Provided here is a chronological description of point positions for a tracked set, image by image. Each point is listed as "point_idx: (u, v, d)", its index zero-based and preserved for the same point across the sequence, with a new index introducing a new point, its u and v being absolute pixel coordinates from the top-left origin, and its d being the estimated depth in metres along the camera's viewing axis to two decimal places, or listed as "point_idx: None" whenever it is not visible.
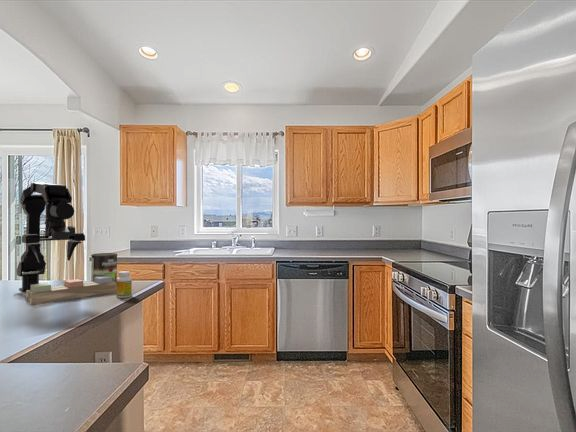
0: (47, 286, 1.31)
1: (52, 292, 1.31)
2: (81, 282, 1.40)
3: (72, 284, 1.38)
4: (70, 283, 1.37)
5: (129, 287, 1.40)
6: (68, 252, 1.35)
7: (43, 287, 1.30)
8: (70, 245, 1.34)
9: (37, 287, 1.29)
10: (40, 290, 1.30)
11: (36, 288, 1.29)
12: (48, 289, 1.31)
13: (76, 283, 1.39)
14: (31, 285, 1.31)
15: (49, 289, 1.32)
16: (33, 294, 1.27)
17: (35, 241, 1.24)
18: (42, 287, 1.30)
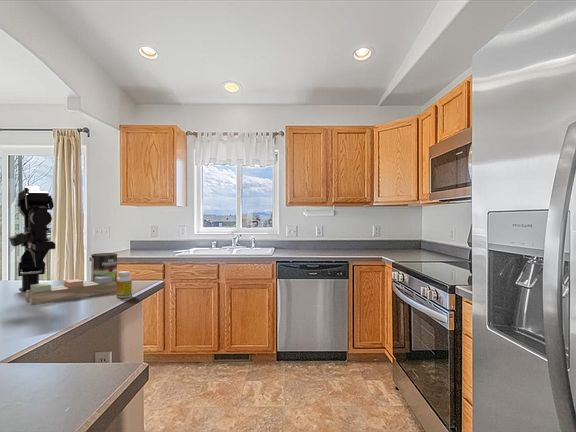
0: (47, 286, 1.31)
1: (52, 292, 1.31)
2: (81, 282, 1.40)
3: (72, 284, 1.38)
4: (70, 283, 1.37)
5: (129, 287, 1.40)
6: None
7: (43, 287, 1.30)
8: None
9: (37, 287, 1.29)
10: (40, 290, 1.30)
11: (36, 288, 1.29)
12: (48, 289, 1.31)
13: (76, 283, 1.39)
14: (31, 285, 1.31)
15: (49, 289, 1.32)
16: (33, 294, 1.27)
17: (22, 245, 1.36)
18: (42, 287, 1.30)
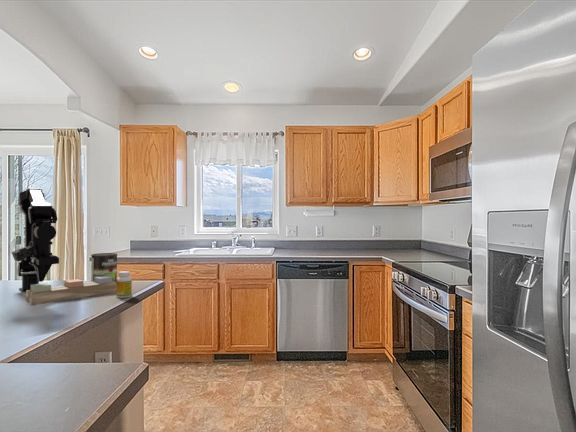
0: (47, 286, 1.31)
1: (52, 292, 1.31)
2: (81, 282, 1.40)
3: (72, 284, 1.38)
4: (70, 283, 1.37)
5: (129, 287, 1.40)
6: None
7: (43, 287, 1.30)
8: None
9: (37, 287, 1.29)
10: (40, 290, 1.30)
11: (36, 288, 1.29)
12: (48, 289, 1.31)
13: (76, 283, 1.39)
14: (31, 285, 1.31)
15: (49, 289, 1.32)
16: (33, 294, 1.27)
17: (25, 258, 1.34)
18: (42, 287, 1.30)
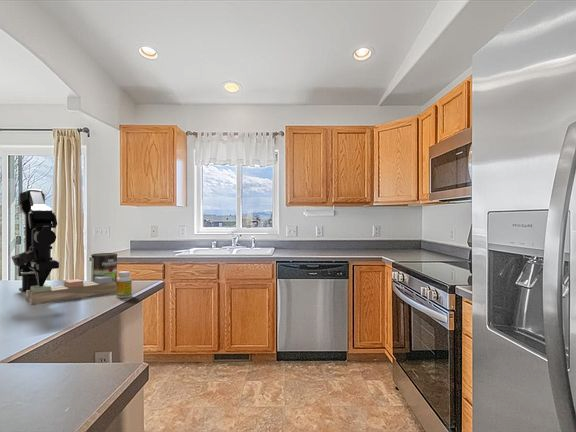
0: (47, 287, 1.31)
1: (52, 292, 1.31)
2: (81, 282, 1.40)
3: (72, 284, 1.38)
4: (70, 283, 1.37)
5: (129, 287, 1.40)
6: None
7: (43, 288, 1.30)
8: None
9: (37, 288, 1.29)
10: (40, 291, 1.30)
11: (36, 289, 1.29)
12: (48, 290, 1.31)
13: (76, 283, 1.39)
14: (31, 286, 1.31)
15: (49, 290, 1.32)
16: (33, 294, 1.27)
17: (25, 263, 1.34)
18: (42, 288, 1.30)
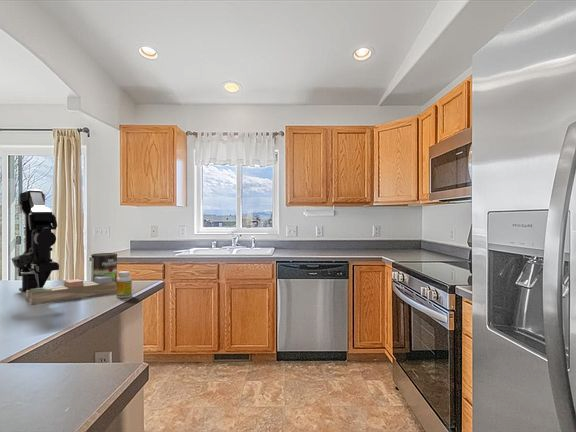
0: (47, 290, 1.31)
1: (52, 292, 1.31)
2: (81, 282, 1.40)
3: (72, 284, 1.38)
4: (70, 283, 1.37)
5: (129, 287, 1.40)
6: None
7: None
8: None
9: (37, 291, 1.29)
10: None
11: None
12: None
13: (76, 283, 1.39)
14: (31, 289, 1.31)
15: None
16: (33, 294, 1.27)
17: (25, 265, 1.34)
18: (42, 291, 1.30)
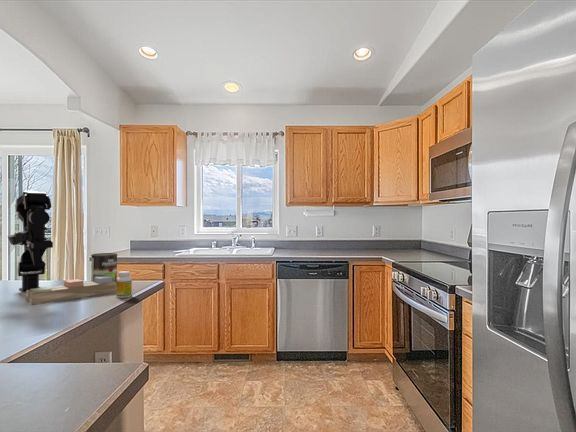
0: (47, 290, 1.31)
1: (52, 292, 1.31)
2: (81, 282, 1.40)
3: (72, 284, 1.38)
4: (70, 283, 1.37)
5: (129, 287, 1.40)
6: None
7: None
8: None
9: (37, 291, 1.29)
10: None
11: None
12: None
13: (76, 283, 1.39)
14: (31, 289, 1.31)
15: None
16: (33, 294, 1.27)
17: (21, 243, 1.41)
18: (42, 291, 1.30)
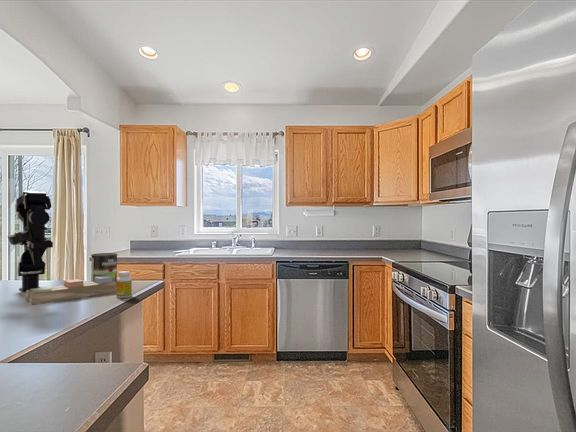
0: (47, 290, 1.31)
1: (52, 292, 1.31)
2: (81, 282, 1.40)
3: (72, 284, 1.38)
4: (70, 283, 1.37)
5: (129, 287, 1.40)
6: None
7: None
8: None
9: (37, 291, 1.29)
10: None
11: None
12: None
13: (76, 283, 1.39)
14: (31, 289, 1.31)
15: None
16: (33, 294, 1.27)
17: (21, 243, 1.41)
18: (42, 291, 1.30)
